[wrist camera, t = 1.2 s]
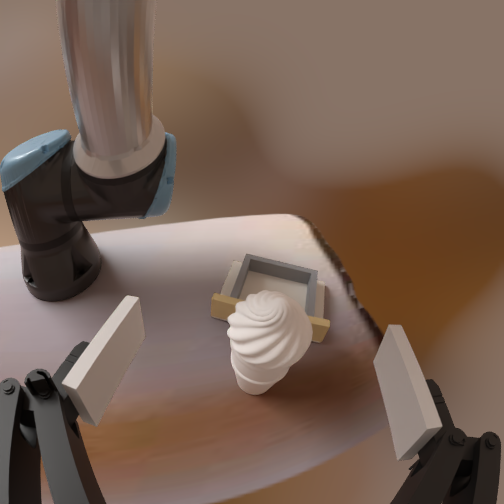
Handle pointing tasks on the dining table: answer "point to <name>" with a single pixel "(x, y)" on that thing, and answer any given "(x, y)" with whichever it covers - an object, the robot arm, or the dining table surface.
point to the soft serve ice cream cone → (267, 339)
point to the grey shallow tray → (273, 289)
